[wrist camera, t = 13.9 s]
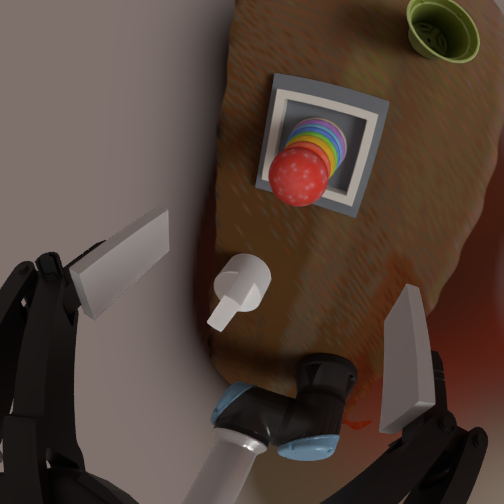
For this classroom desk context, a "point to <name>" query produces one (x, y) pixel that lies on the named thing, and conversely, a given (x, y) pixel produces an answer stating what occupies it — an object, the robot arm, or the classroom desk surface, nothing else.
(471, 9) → the classroom desk surface
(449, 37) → the plant pot
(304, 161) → the stacking toy
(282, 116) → the board
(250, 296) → the cylinder with rectangular tab
